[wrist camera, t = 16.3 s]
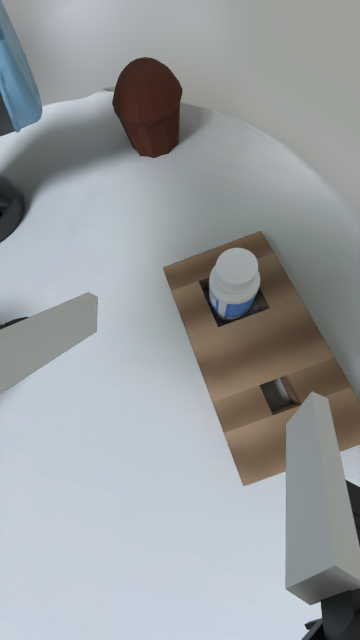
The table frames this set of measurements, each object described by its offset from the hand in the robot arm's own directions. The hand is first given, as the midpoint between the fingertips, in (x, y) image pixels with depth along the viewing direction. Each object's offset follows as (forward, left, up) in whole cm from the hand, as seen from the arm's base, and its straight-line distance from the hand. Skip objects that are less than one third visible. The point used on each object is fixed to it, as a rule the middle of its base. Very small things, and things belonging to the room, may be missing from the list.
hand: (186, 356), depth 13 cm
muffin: (-42, +7, -16) cm, 46 cm away
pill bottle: (-8, +7, -16) cm, 19 cm away
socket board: (-1, +7, -16) cm, 18 cm away
